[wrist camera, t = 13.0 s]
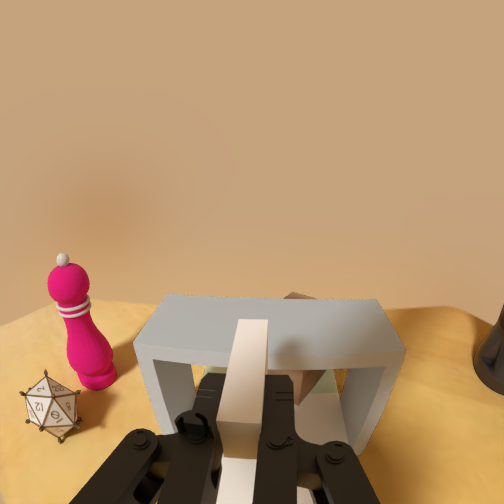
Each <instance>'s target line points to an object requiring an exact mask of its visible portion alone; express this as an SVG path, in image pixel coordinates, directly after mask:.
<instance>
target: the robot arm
mask: <svg viewBox="0 0 504 504" xmlns="http://www.w3.org/2000/svg"><path fill="white" fill-rule="evenodd" d="M474 368H475V371H476V373H477V374H478V376H479V378H480V379H481V380H482V381H483V382H484V383H485V384H486V385H487V386H488V387H489V388H491V389H492V390H494V391H496V392H497V393H500V394H502V395H504V305H503V308H502V311H501V314H500V316H499V319H498V321H497V323H496V324H495V325H494V327H493V328H492V329H491V331H490V332H489V333H488V335H487V336H486V337H485V338H484V340H483V341H482V342H481V343H480V345H479V347H478V349H477V351H476V354H475V356H474ZM267 370H268V320H262V319H239V320H238V324H237V329H236V333H235V338H234V342H233V347H232V351H231V356H230V360H229V365H228V369H227V374H225V373H210V372H208V373H207V374H206V375H205V376H204V377H203V378H202V379H201V382H200V385H199V390H198V392H197V395H196V398H195V401H194V404H193V408H192V410H188V411H185V412H182V413H181V414H180V415H178V416H177V417H176V419H175V421H174V422H175V425H176V427H177V430H178V432H176V433H173V434H167V435H155V433H153V432H152V431H150V430H147V429H136V430H133V431H131V432H130V433H128V434H127V435H126V436H125V438H124V439H123V440H122V441H121V442H120V444H119V445H118V446H117V447H116V449H115V450H114V451H113V452H112V453H111V455H110V456H109V457H108V458H107V459H106V461H105V462H104V463H103V464H102V465H101V466H100V468H99V469H98V470H97V471H96V472H95V474H94V475H93V476H92V477H91V478H90V480H89V481H88V482H87V483H86V484H85V485H84V487H83V488H82V489H81V490H80V491H79V492H78V494H77V495H76V496H75V497H74V498H73V499H72V501H71V502H70V503H69V504H156V502H157V501H158V502H157V504H216V501H217V496H218V490H219V485H220V479H221V473H222V463H221V461H222V455H224V457H227V458H239V459H257V461H256V472H255V482H254V491H253V501H252V504H297V486H298V487H302V488H306V489H309V492H310V495H311V498H312V501H313V504H380V502H379V500H378V498H377V496H376V494H375V492H374V490H373V488H372V486H371V484H370V482H369V480H368V478H367V476H366V474H365V472H364V470H363V468H362V466H361V464H360V462H359V460H358V458H357V456H356V454H355V452H354V450H353V449H352V447H351V446H350V445H349V444H347V443H345V442H342V441H329V442H327V443H325V444H323V445H318V444H314V443H310V442H307V441H305V440H303V439H301V438H300V437H299V436H298V434H297V432H296V430H295V413H294V386H293V381H292V380H291V378H290V377H289V375H267Z"/></svg>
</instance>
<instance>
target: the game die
mask: <svg viewBox="0 0 504 504" xmlns="http://www.w3.org/2000/svg"><path fill="white" fill-rule="evenodd" d="M44 374H45V377H44V378H43V379H41V380H40V381H39V382H38V383H37V384H36V385H35V386H33V387H32V388H29V391H28V392H27V393H24V392H22V391H21V392H19V393H20V394H21V395H22V396H25V401H26V406H27V411H28V416H29V419H27V420H26V422H25V423H30V422H32V423H34V424H35V425H37V426H38V427H40V428H39V430H40V432H41V431H43V430H45V431H47V432H48V433H50V434H52V435H54V436H56V437H57V438H58V442H59V443H60V444H61V442H62V441H61V438H60V437H62V436H63V435H64V434H65V433H67V432H68V431H69V430H70V429H71V428H73V427H74V426H75V428H77V429H80V427H79V425H77V424H76V421H77V419H78V420H79V421H81V420H82V419H81V417H78V416H77V402H76V395H78V394H80V391H81V390H77V391H76V392H75V393H74V392H73V391H71V390H69V389H67V388H66V387H64V386H62V385H61V384H59V383H57V382H56V381H54V380H53V379H51V378H49V377H48V376H47V375H48V373H47V371H46V369H45V371H44Z"/></svg>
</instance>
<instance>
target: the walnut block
mask: <svg viewBox="0 0 504 504" xmlns="http://www.w3.org/2000/svg"><path fill="white" fill-rule="evenodd" d="M283 299H316V298H313V297H309V296H306V295H302V294H298V293H295V292H292V293H290V294H289V295H288V296H286V297H285V298H283ZM326 371H327V370H271V369H268V370H267V375H289V377H290V378H291V380H292V381H293V386H294V404H296V405H298V406H299V404H300V403H301V402H302V401H303V400H304V398H305V397H306V396H307V395H308V393H309V392H310V391H311V390H312V389H313V387H314V386H315V385H316V384H317V382H318V381H319V380H320V378H321V377H322V376H323V375H324V373H325V372H326Z"/></svg>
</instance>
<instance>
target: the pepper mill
mask: <svg viewBox="0 0 504 504" xmlns="http://www.w3.org/2000/svg"><path fill="white" fill-rule="evenodd" d="M57 263H58V265H59V266H57V267H56V268H54V269H53V271H52V272H51V273H50V275H49V277H48V291H49V293H50V296H51V297H52V298H53V299H54V300H55V301H57V304H56V306H57V308H58V313H59V315H60V316H62V317H63V318H64V321H65V324H66V328H67V333H68V340H67V357H68V360H69V364H70V365H71V367H72V368H73V369H74V370H75V371H76V372H77V374H78V377H79V379H80V381H81V383H82V385H83V386H84V387H86V388H88V389H91V390H100V389H103V388H106V387H108V386H109V385H111V384H112V383H113V382H114V380H115V378H116V370H115V367H114V364H113V362H112V358H113V352H112V349H111V347H110V344H109V342H108V341H107V339H106V338H105V337H104V336H103V335H102V333H101V332H100V331H99V330H98V329H97V327H96V326H95V324H94V323H93V321H92V318H91V315H90V308H91V302H90V297H89V296H88V295H87V292H88V290H89V284H90V283H89V278H88V275H87V273H86V271H85V270H84V269H83V268H82V267H81V266H79V265H77V264H74V263H69V257H68V255H67V254H65V253H61V254H59V255H58V257H57Z"/></svg>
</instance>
